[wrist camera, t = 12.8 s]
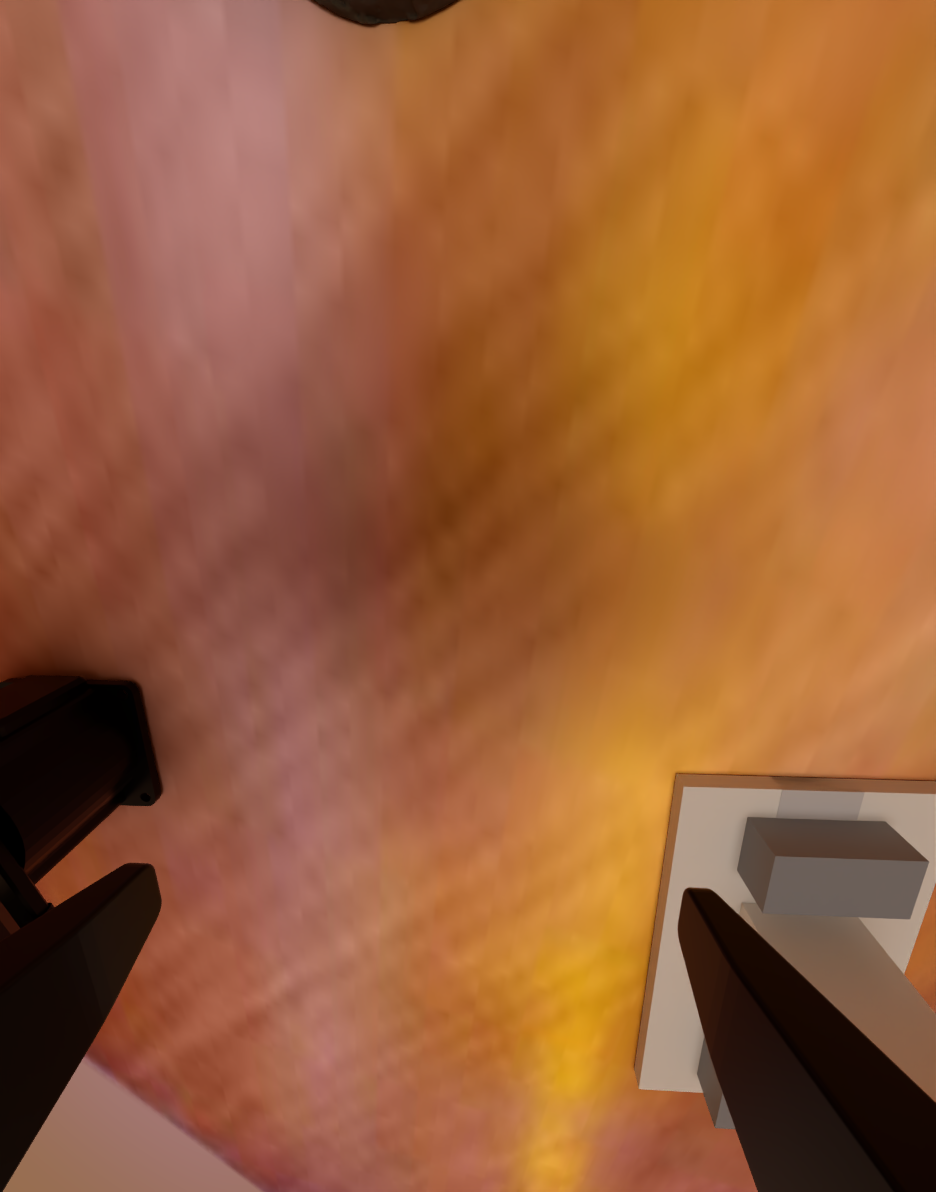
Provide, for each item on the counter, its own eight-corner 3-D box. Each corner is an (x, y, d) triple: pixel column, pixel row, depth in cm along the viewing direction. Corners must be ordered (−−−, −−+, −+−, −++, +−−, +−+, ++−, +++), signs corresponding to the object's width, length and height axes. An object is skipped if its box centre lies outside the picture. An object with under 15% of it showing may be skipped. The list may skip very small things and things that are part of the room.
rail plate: (848, 1081, 27) (892, 1158, 24) (634, 1069, 28) (651, 1143, 25) (946, 781, 21) (1020, 833, 18) (676, 773, 22) (705, 823, 19)
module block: (829, 985, 24) (1095, 1401, 13) (725, 980, 24) (907, 1385, 14) (851, 906, 23) (1169, 1302, 12) (740, 901, 23) (957, 1286, 12)
